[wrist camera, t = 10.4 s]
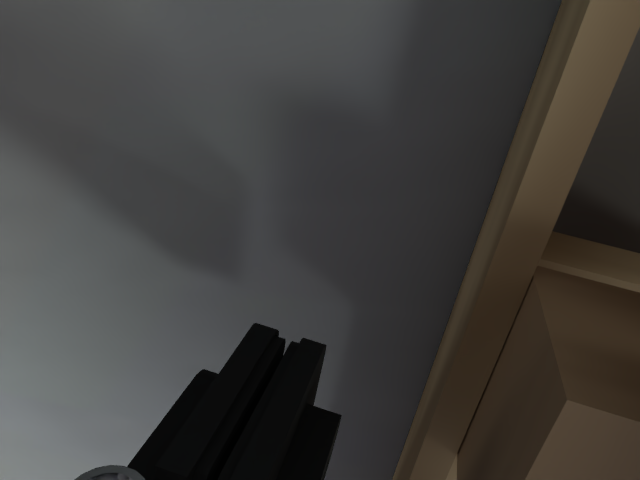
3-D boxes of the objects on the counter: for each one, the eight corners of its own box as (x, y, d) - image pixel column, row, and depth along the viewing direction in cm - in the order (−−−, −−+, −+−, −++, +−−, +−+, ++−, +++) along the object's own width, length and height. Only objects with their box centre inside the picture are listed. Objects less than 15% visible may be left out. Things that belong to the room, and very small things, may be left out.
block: (808, 336, 9) (1029, 540, 5) (674, 509, 11) (771, 734, 8) (529, 263, 10) (567, 400, 6) (457, 438, 12) (454, 611, 8)
